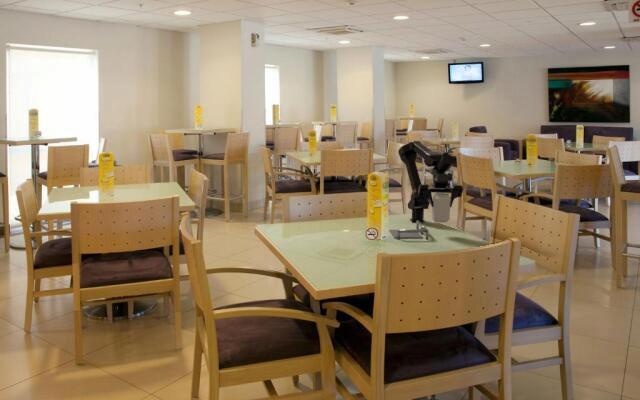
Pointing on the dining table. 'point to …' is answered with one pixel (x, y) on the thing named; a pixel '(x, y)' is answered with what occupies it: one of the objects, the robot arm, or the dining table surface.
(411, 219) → the robot arm
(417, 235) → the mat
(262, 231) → the dining table surface
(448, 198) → the can
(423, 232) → the rail
